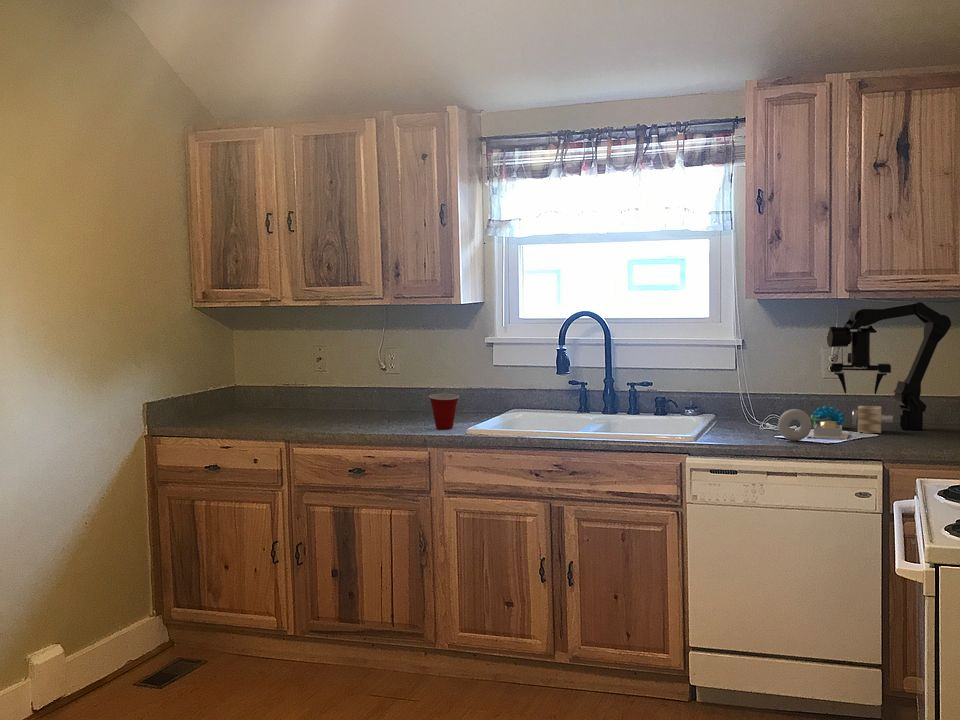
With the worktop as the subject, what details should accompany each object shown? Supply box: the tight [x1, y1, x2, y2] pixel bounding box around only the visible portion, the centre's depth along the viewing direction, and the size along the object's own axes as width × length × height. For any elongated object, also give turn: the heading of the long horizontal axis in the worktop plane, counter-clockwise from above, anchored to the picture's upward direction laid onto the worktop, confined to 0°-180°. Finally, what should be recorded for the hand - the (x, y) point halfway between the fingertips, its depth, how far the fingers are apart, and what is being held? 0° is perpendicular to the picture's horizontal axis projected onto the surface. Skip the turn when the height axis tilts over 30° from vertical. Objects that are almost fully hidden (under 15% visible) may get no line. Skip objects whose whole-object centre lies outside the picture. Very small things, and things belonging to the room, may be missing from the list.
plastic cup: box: [428, 393, 460, 431], centre depth 352 cm, size 11×11×12 cm
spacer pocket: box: [806, 424, 850, 440], centre depth 318 cm, size 12×12×3 cm
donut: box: [777, 408, 813, 442], centre depth 310 cm, size 10×4×10 cm, turn 77°
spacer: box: [819, 421, 838, 428], centre depth 318 cm, size 5×5×4 cm
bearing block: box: [857, 405, 882, 434], centre depth 326 cm, size 7×8×8 cm
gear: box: [810, 405, 845, 428], centre depth 338 cm, size 11×6×10 cm
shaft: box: [851, 409, 894, 426], centre depth 326 cm, size 12×5×5 cm, turn 67°
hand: (860, 393), depth 331 cm, fingers open, 9 cm apart
